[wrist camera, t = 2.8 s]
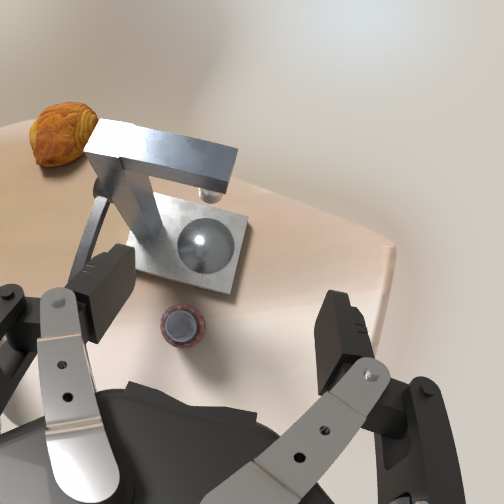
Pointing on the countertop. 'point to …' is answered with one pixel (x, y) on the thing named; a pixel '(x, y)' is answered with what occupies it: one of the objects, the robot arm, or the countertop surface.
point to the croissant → (62, 133)
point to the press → (171, 202)
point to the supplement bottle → (182, 326)
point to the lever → (91, 228)
